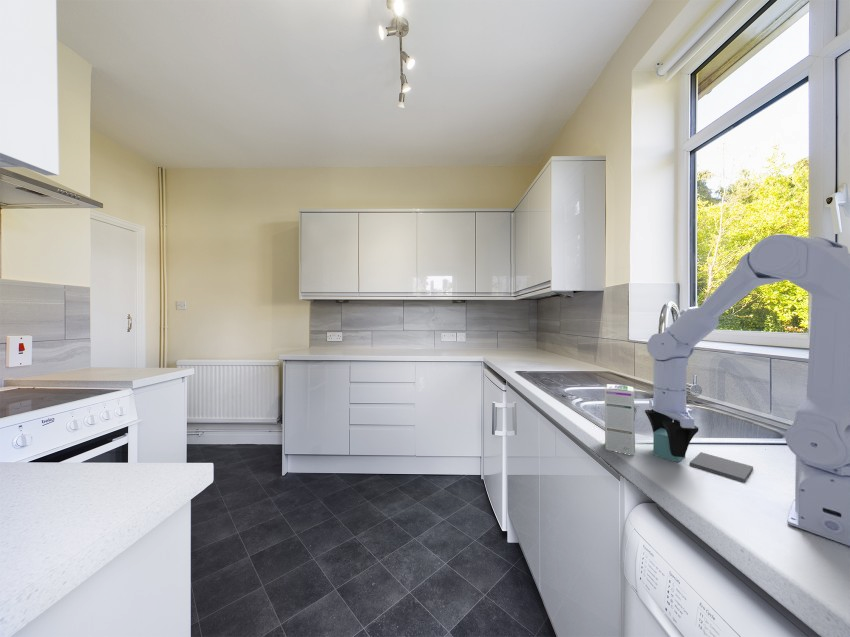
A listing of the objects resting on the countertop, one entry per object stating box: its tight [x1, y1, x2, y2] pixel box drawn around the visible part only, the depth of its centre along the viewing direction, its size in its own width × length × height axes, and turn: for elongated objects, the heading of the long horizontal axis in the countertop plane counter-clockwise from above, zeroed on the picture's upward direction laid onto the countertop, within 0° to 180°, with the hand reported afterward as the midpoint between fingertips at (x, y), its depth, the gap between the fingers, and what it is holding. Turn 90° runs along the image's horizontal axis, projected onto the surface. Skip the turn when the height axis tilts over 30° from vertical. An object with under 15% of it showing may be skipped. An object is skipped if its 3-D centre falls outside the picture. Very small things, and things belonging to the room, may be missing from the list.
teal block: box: [652, 428, 686, 463], centre depth 68 cm, size 4×4×5 cm
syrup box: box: [604, 383, 636, 456], centre depth 71 cm, size 6×6×14 cm
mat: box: [689, 451, 754, 483], centre depth 63 cm, size 8×8×1 cm
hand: (669, 449), depth 68 cm, fingers closed on teal block, 6 cm apart
